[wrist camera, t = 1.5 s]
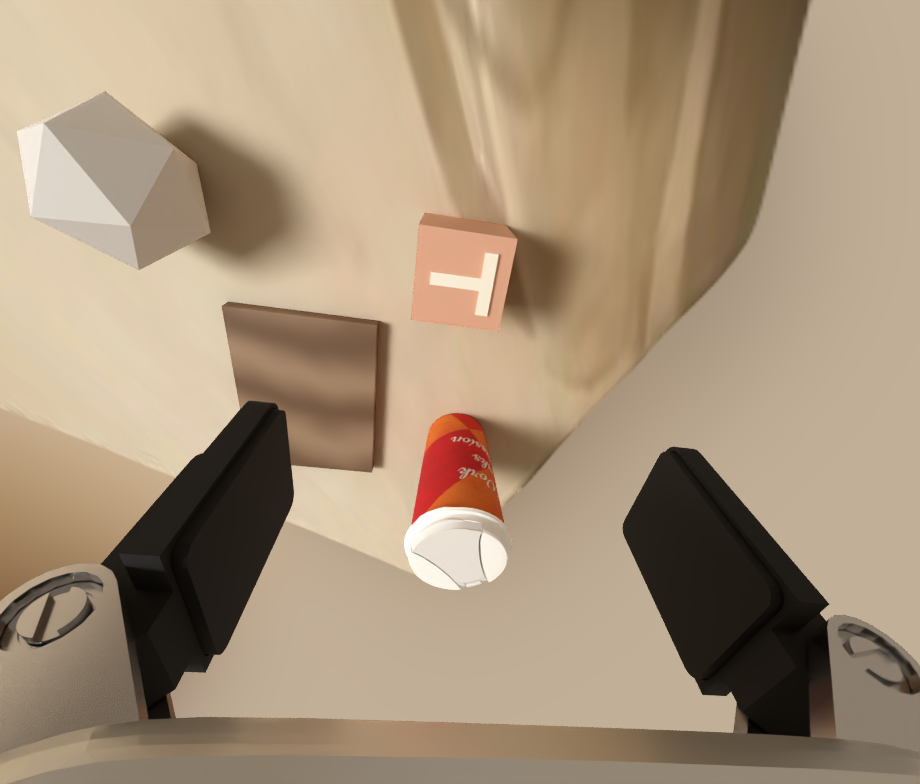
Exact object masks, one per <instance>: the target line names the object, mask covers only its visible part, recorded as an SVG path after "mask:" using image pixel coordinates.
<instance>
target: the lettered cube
mask: <svg viewBox="0 0 920 784" xmlns="http://www.w3.org/2000/svg"><path fill="white" fill-rule="evenodd" d="M517 240H518V239H517V238H516V237H515V235H514V234H513V233H512V232H511V231H510V230H509V228H508V227H507V226H506V225H500V224H494V223H487V222H481V221H474V220H468V219H461V218H455V217H448V216H442V215H435V214H429V213H424V215H423V217H422V219H421V221H420V223H419V229H418V241H417V253H416V266H415V278H414V290H413V302H412V314H411V320H415V321H423V322H430V323H438V324H446V325H454V326H462V327H469V328H477V329H485V330H493V331H499V327H500V322H501V317H502V313H503V308H504V303H505V298H506V293H507V288H508V284H509V279H510V274H511V269H512V264H513V260H514V255H515V250H516V245H517Z"/></svg>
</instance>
